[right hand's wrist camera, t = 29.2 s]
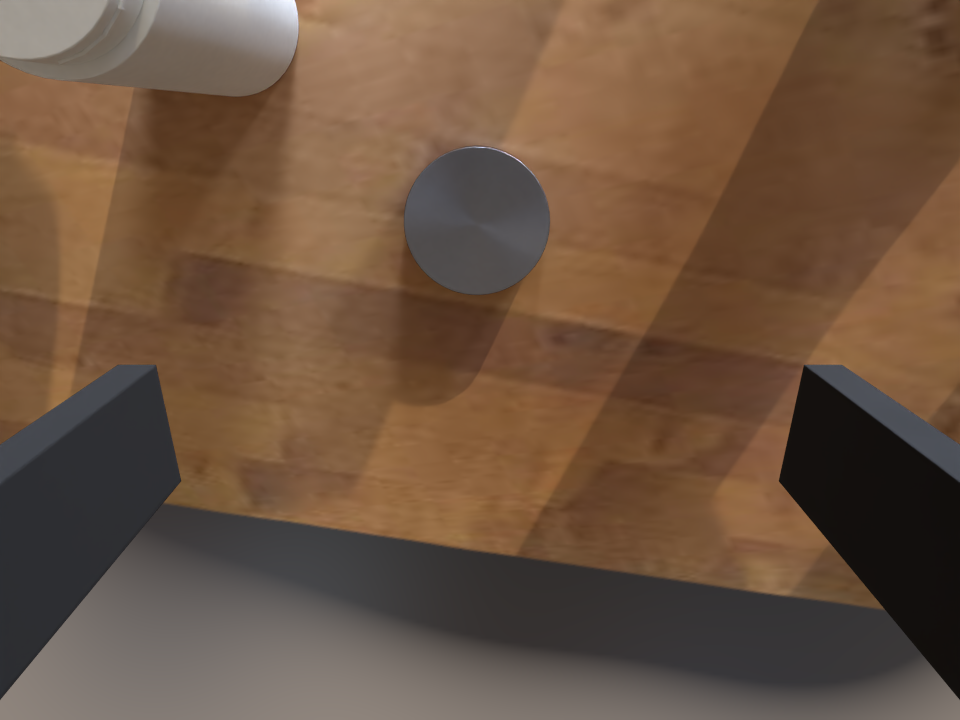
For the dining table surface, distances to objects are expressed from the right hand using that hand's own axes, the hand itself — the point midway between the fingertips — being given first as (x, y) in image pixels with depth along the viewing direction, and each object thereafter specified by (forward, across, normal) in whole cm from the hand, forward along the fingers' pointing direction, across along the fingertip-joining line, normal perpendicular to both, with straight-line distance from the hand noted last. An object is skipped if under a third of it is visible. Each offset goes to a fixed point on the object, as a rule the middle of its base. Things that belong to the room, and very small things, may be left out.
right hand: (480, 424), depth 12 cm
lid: (+27, 0, 0) cm, 27 cm away
